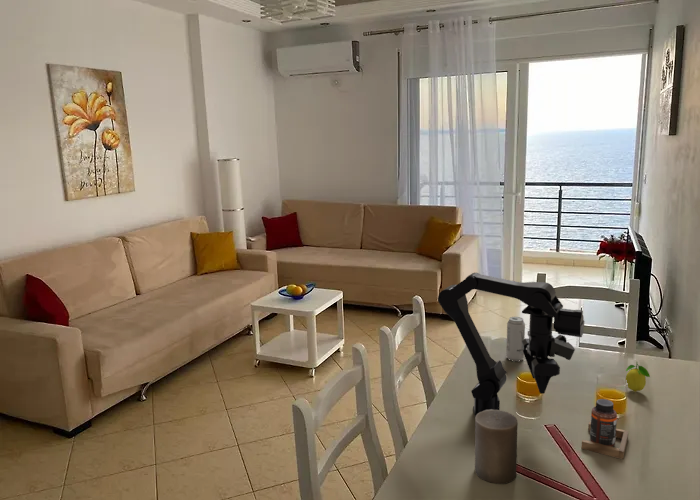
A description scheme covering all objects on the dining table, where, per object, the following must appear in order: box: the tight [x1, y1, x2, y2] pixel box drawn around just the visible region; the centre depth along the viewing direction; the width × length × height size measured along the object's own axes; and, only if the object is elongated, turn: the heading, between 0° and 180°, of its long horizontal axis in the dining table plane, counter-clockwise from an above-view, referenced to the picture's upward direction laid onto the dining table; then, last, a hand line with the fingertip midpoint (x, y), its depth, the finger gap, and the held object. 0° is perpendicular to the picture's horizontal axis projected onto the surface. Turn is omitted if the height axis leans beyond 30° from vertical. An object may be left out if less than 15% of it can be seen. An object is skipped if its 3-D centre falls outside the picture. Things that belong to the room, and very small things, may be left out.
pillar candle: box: [474, 409, 518, 485], centre depth 127 cm, size 10×10×15 cm
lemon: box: [625, 361, 651, 393], centre depth 165 cm, size 7×6×10 cm
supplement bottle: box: [589, 398, 618, 447], centre depth 138 cm, size 6×6×11 cm
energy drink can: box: [505, 316, 526, 362], centre depth 192 cm, size 6×6×15 cm
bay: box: [581, 421, 629, 460], centre depth 139 cm, size 10×11×2 cm
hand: (538, 385), depth 146 cm, fingers open, 9 cm apart
